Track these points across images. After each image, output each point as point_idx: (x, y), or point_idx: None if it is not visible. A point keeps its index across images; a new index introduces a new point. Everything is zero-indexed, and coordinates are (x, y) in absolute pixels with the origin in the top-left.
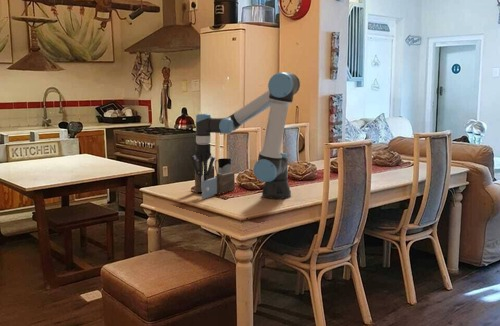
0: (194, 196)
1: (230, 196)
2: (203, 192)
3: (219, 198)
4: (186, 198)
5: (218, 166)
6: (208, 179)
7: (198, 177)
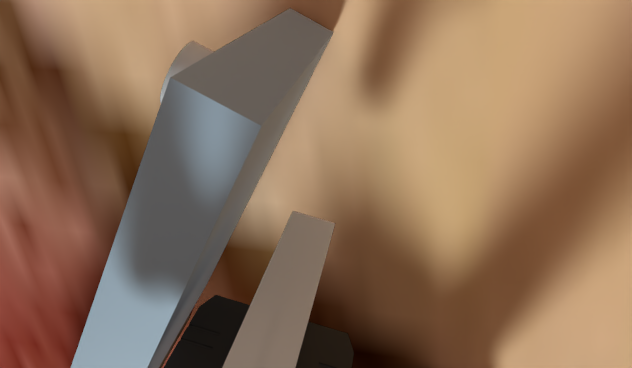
0: (453, 213)
1: (2, 171)
2: (278, 30)
3: (93, 65)
4: (584, 93)
5: None
6: (138, 352)
7: None
